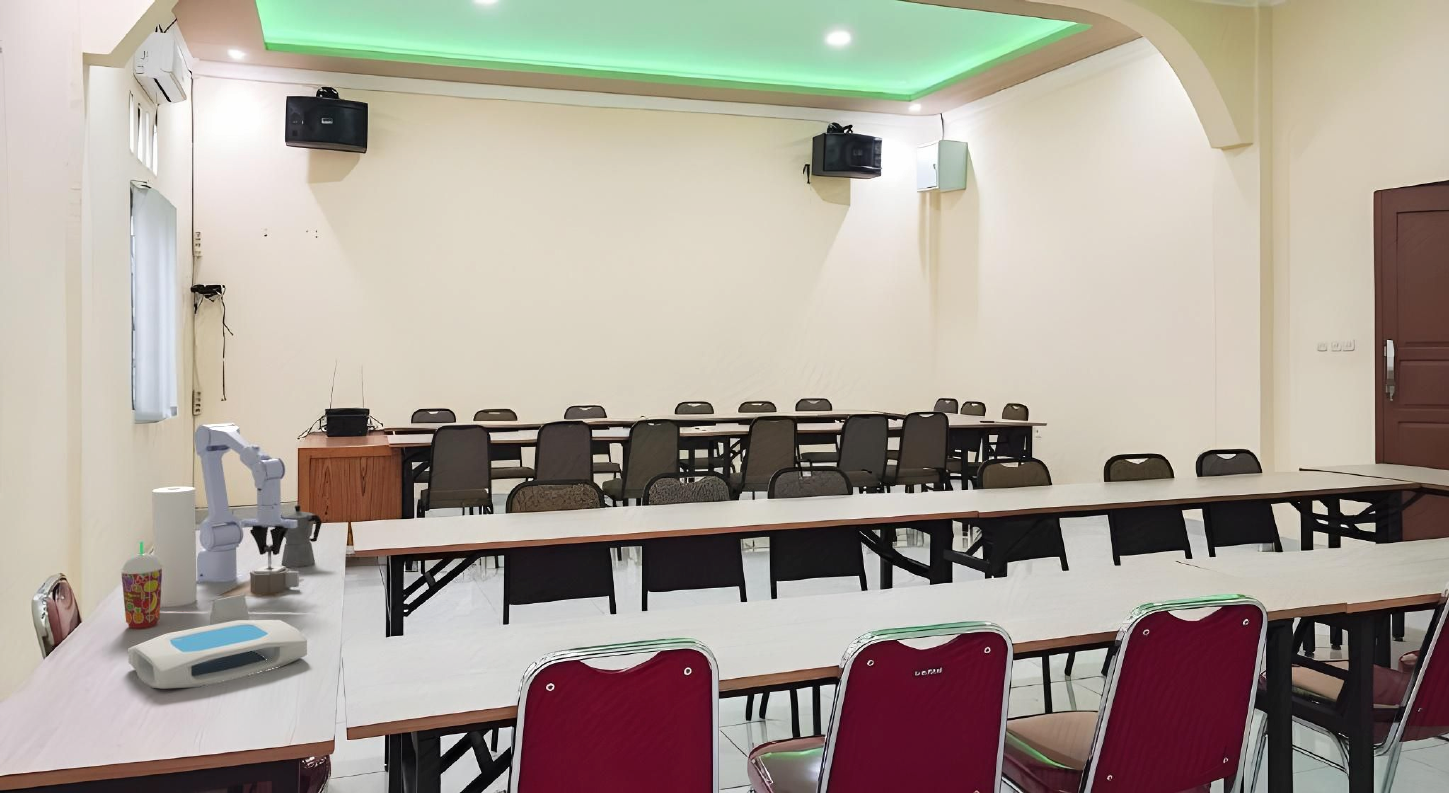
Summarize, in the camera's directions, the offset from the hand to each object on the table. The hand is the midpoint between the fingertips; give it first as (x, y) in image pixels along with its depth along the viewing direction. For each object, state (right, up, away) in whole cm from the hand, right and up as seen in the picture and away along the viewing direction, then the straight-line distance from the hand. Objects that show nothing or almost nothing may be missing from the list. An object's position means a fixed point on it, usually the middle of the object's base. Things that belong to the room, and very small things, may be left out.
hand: (269, 553), depth 257 cm
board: (-3, -10, +3) cm, 11 cm away
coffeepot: (-6, -9, +32) cm, 34 cm away
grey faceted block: (+1, -10, +1) cm, 10 cm away
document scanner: (+17, -14, -58) cm, 62 cm away
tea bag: (+11, -13, -42) cm, 46 cm away
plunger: (0, -6, 0) cm, 6 cm away
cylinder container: (-18, -11, -13) cm, 25 cm away
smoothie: (-15, -12, -32) cm, 37 cm away
